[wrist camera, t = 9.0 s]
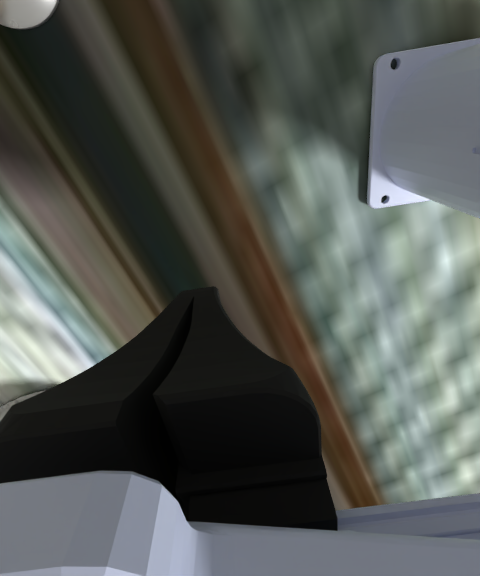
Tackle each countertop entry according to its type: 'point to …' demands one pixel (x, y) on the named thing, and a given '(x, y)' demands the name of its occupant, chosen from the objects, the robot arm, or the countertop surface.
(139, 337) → the robot arm
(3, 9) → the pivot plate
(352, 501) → the countertop surface
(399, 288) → the countertop surface
